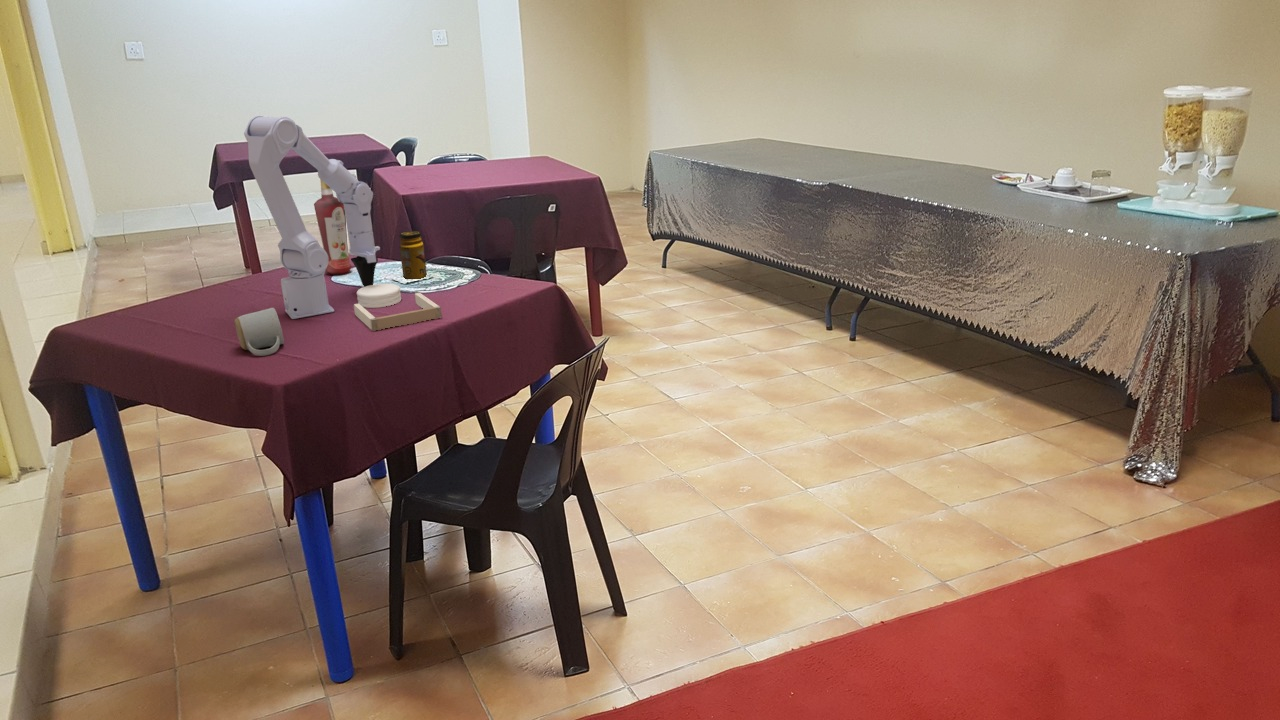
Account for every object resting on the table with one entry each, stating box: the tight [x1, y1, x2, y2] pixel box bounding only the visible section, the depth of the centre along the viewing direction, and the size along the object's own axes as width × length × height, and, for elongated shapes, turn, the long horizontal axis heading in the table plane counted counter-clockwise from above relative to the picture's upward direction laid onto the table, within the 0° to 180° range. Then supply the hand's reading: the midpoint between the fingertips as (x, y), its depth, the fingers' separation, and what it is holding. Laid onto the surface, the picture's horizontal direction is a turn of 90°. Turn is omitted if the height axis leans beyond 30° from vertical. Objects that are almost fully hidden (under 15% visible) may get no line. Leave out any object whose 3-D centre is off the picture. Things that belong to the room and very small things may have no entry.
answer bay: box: [353, 292, 443, 332], centre depth 201 cm, size 15×15×2 cm
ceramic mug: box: [234, 307, 284, 357], centre depth 183 cm, size 11×8×8 cm
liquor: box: [313, 178, 353, 276], centre depth 236 cm, size 7×7×28 cm
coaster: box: [356, 283, 402, 309], centre depth 213 cm, size 10×10×4 cm
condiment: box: [399, 230, 428, 279], centre depth 230 cm, size 7×8×12 cm
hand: (368, 285), depth 220 cm, fingers closed
